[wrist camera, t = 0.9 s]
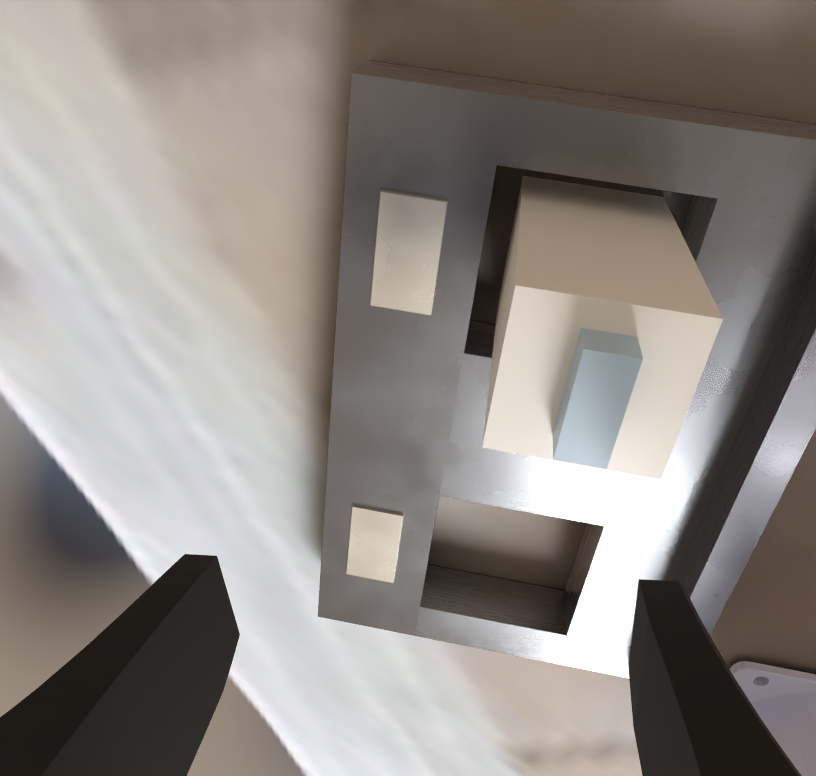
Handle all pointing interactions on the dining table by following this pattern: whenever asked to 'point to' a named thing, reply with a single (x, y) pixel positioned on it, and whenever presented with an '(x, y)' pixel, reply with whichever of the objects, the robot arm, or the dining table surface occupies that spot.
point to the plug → (596, 330)
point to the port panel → (473, 346)
